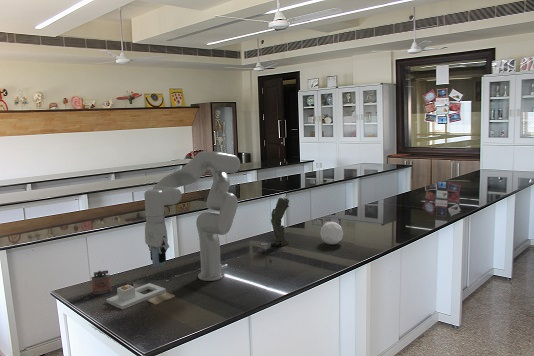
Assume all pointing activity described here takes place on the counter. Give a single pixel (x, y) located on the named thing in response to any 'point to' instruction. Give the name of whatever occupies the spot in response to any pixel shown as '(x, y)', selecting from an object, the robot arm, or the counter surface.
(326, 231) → the geodesic sphere
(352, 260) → the counter surface
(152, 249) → the cylinder
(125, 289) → the brown egg
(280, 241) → the mechanical leg
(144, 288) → the dock
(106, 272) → the lighter
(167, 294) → the pad
